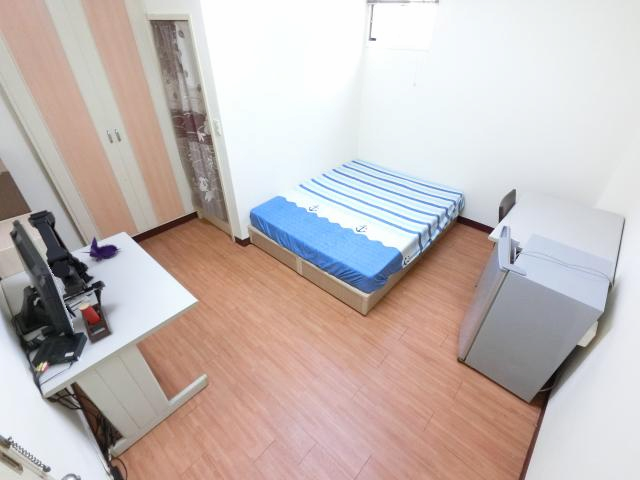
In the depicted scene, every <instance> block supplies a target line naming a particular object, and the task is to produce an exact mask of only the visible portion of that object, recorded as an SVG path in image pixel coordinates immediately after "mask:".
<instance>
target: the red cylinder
mask: <svg viewBox="0 0 640 480" xmlns="http://www.w3.org/2000/svg"><path fill="white" fill-rule="evenodd" d="M91 306H92V305H91V304H90V303H89V302H88V301H85V302H81V304H79V305H78V307H77V308H78V310H79V312H80V313H81V312H82V313H81V315H82V314H83V315H84V316H85V317H86V319H87V320H88V321H89V322H90V325H93V324H95V323H97V322H99V321H101V320H102V319H101V318H100V317H99V316H98V315H97V311H94V309H93V308H92V307H91Z"/></svg>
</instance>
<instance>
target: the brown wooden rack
mask: <svg viewBox="0 0 640 480" xmlns="http://www.w3.org/2000/svg"><path fill="white" fill-rule="evenodd" d="M91 307H92V308H93V309H94V311H95V312H96V313H97V315H98V316H99V317H100V319H101V321H99V322H97V323H95V324H93V325H91V324H90V322H89V321H88V320H87V319H86V317H85V316H84V315H83V314H82V312H81V311H80V314H81V317H82V320H83V323H84V327H85V330H86V333H87V337H88V340H89V341H90V342H91V343H92V344H94V343H96V342H98V341H100V340H102V339H103V338H105V337H108V336H109V335H111V334H112V330H111V327H110V324H109V322H108V319H107V317H106V314H105V311H104V308H103V305H101V306H100V305H99V303H98V302H97V303H94V304H93V305H91ZM102 328H104V329H102ZM100 329H102V330H101V331H98V330H100ZM96 331H98V332H96ZM94 332H96V333H94Z"/></svg>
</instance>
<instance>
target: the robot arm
mask: <svg viewBox="0 0 640 480" xmlns="http://www.w3.org/2000/svg"><path fill="white" fill-rule="evenodd" d="M27 222H28V223H29V224H30V226H31V227H32V228H34V229H36V230H37V231H38V233H39V235H40V237H41V240H42V242H43V243H44V246H45V247H46V251H45V256H46V264H47V266H48V265H49V266H48V268H49V267H50V269H51V270H50V269H49V270H50V271H51V274H52V273H53V274H54V276H53V277H54V278H57V279H60V280H61V282H62V285H63V286H64V288H63V291H64V292H65V294H66V295H67V296H64V297H63V300H64V303H65V305H66V308H67V310H68V312H67V313H69V314H70V315H71V316H72V317H74V318H77V315H76V313H75V312H74V310H73V308H72V307H71V306H70V304H69V303H67V302H68V301H71V300H73V299H76V298H78V297H80V296H83V295H84V294H87V293H90V292H92V291H93V293H94V296H95V298H96V300H97V303H99V305H100V306H102V291H103V290H104V288H105V287H106V286H107V285H106V284H105V282H104V281H103V280H98V281H95V282H93V283H91V284H90V285H91V286H90V285H89V286H88V287H86V286H87V284H88V283H90V281H91V280H92V279H93V278H94V276H91V275H89V274H88V271H89V269H90V268H89V267H88V265H87V264H86V262H85V263H84V262H83V261H80V259H79V258H78V257H76V256H74V255H73V253H71V251H70V250H69V248H68V247H67V245H66V244H65V242H64V240H63V239H62V237H61V236H60V233H58V230H57V229H56V222H57V221H56V216H55V214H54V213H53V211H48V210H47V209H45V210H40V211H37V212H33V213H30V214H29V217H27ZM53 274H52V275H53Z"/></svg>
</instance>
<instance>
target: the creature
mask: <svg viewBox="0 0 640 480" xmlns="http://www.w3.org/2000/svg"><path fill="white" fill-rule="evenodd" d="M88 250H89V251H82V252H81V253H83V254H84V253H85V254H88V255H89V257H91V258H96V262H100V261H101V260H102V258H103V259H109V258H112V257H113V256H115V255H116V253H117V252H118V251H119V250H120V248H118V246H116V245H115V244H114V243H113V244H112V243H111V244H110V243H109V244H108V243H106V244H102V245H101V246H99V245H98V240H97V239H96V237H95V236H93V239H92V242H91V245H90V248H88Z"/></svg>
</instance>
